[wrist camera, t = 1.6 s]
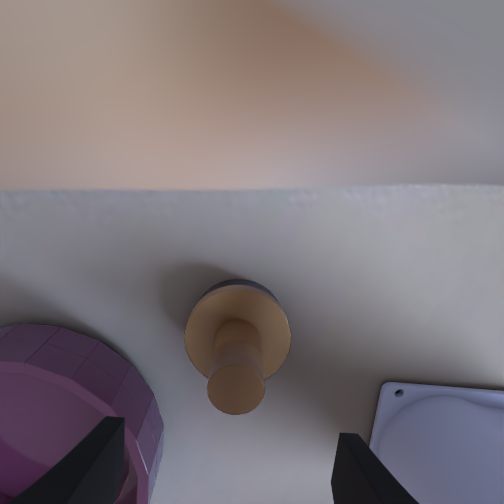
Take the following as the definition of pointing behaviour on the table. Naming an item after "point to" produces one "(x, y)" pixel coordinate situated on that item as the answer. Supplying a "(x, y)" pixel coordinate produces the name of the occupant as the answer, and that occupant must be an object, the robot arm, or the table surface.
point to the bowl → (71, 407)
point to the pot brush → (237, 342)
